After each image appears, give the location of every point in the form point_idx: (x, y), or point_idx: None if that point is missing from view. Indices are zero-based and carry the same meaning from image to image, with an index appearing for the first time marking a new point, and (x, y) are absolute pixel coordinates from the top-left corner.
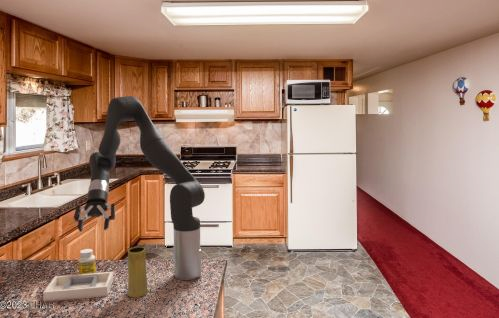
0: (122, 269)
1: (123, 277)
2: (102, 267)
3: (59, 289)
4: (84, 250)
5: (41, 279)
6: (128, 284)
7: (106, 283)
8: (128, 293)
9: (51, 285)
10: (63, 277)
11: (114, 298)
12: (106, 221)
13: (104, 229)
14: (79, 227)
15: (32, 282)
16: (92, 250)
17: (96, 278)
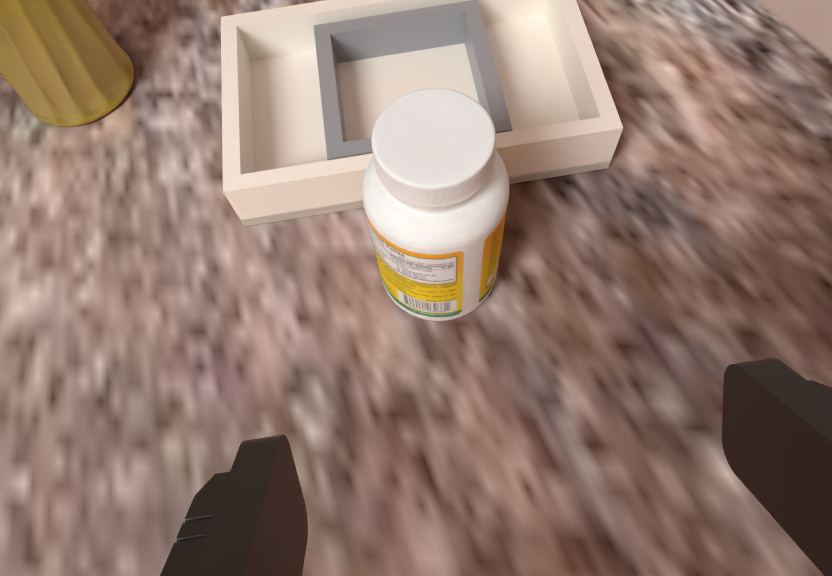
0: (207, 399)
1: (181, 262)
2: (388, 449)
3: (534, 92)
4: (459, 146)
5: (774, 247)
6: (94, 12)
7: (232, 45)
8: (123, 51)
9: (569, 35)
10: (557, 126)
11: (199, 41)
12: (208, 569)
13: (292, 480)
14: (779, 364)
15: (803, 206)
16: (373, 146)
17: (324, 129)
